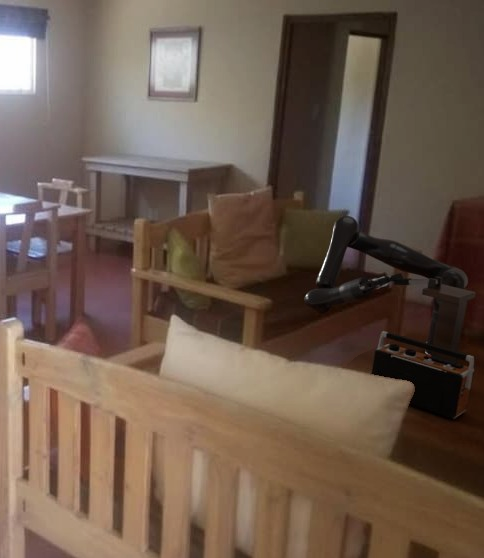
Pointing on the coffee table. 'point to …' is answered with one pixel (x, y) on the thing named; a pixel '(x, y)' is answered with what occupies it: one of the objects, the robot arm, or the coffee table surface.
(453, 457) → the coffee table surface
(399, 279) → the lever
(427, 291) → the stand
